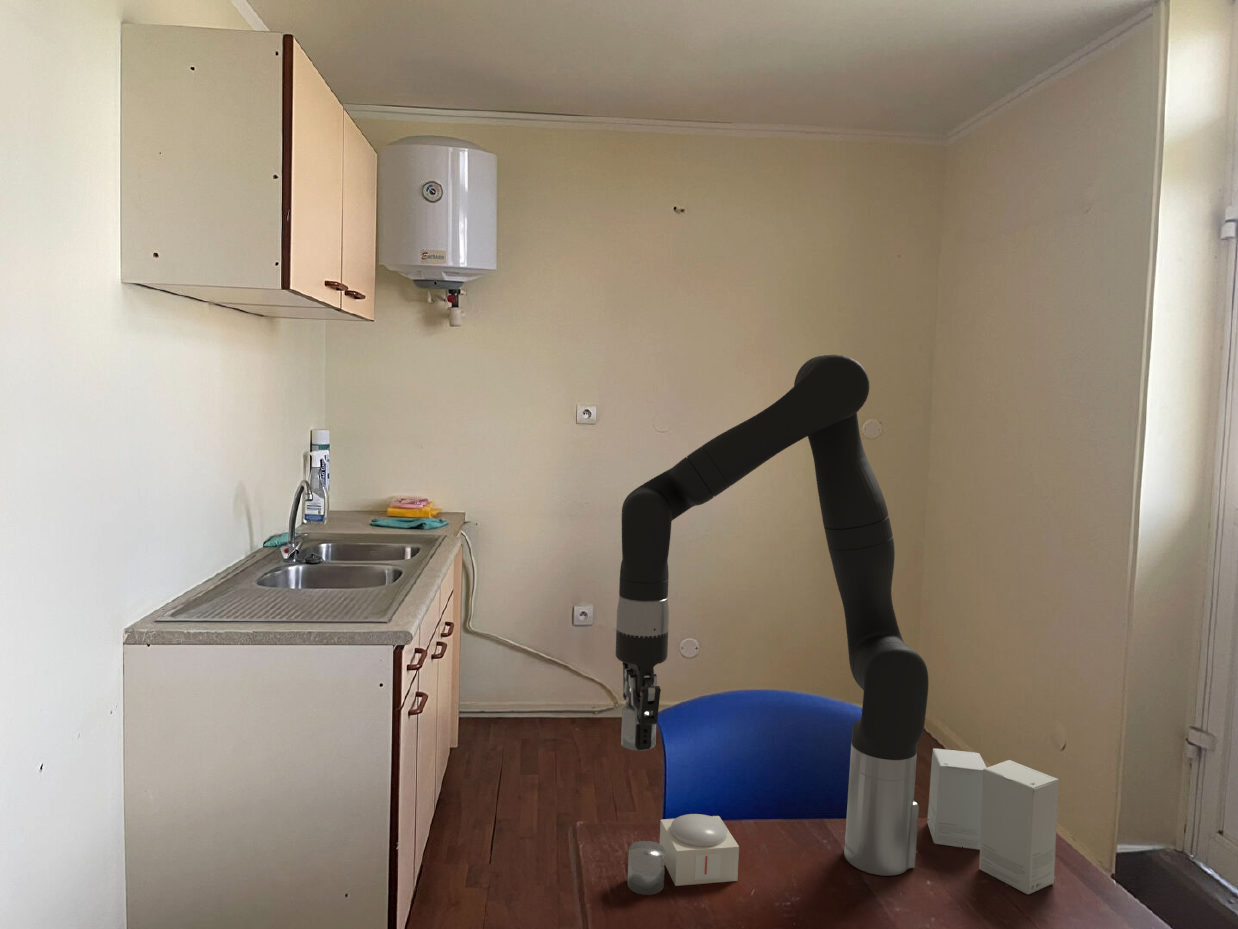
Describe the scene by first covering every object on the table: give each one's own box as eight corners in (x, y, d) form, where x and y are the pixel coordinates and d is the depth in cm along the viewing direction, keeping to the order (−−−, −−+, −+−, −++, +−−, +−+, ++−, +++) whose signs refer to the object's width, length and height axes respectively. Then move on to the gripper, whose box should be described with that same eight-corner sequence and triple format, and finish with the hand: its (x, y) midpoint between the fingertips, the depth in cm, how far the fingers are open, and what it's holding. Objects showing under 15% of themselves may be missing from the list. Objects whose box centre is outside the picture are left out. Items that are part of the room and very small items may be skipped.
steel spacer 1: (650, 736, 133) (651, 703, 132) (659, 749, 128) (660, 716, 128) (618, 738, 132) (619, 705, 131) (625, 751, 127) (626, 717, 127)
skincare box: (1054, 885, 127) (1063, 780, 126) (1026, 897, 124) (1035, 789, 122) (1002, 857, 134) (1010, 757, 133) (974, 868, 131) (982, 766, 129)
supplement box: (983, 851, 136) (990, 771, 135) (932, 844, 137) (938, 765, 136) (974, 828, 143) (980, 752, 142) (926, 822, 144) (931, 746, 143)
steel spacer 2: (658, 873, 126) (660, 839, 126) (667, 893, 121) (669, 858, 121) (623, 876, 125) (625, 842, 125) (631, 896, 120) (633, 861, 120)
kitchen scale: (717, 848, 134) (719, 810, 133) (738, 882, 125) (740, 842, 124) (659, 852, 132) (660, 814, 131) (676, 887, 123) (677, 847, 122)
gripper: (681, 640, 122) (676, 760, 124) (655, 613, 136) (651, 721, 138) (627, 641, 121) (623, 763, 122) (607, 614, 135) (604, 723, 136)
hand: (638, 740), depth 130 cm, fingers closed on steel spacer 1, 5 cm apart
